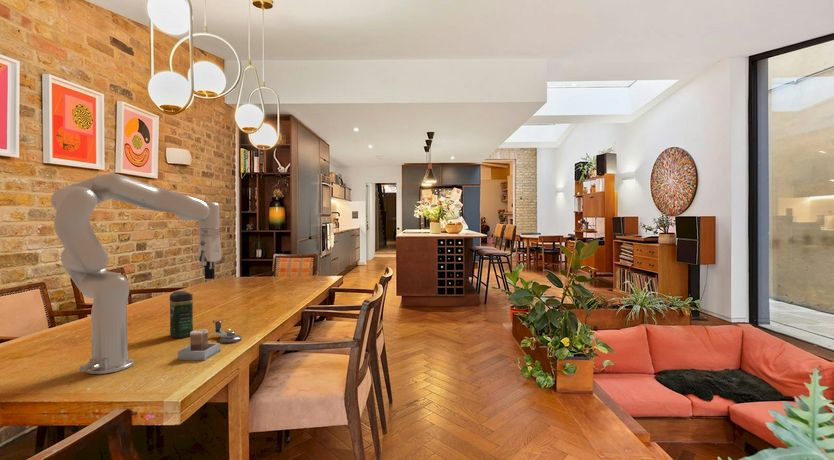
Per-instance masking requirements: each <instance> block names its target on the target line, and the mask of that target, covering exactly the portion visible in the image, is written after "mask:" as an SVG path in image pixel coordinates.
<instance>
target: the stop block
mask: <svg viewBox="0 0 834 460" xmlns="http://www.w3.org/2000/svg"><path fill="white" fill-rule="evenodd" d="M208 334H209V329H206V328H205V329H204V328H203V329H202V328H201V329H200V328H199V329H198V328H197V329H195V330H194V329H193V331H192V332H190V336H189V337H190V338H189V340H190V341H189V342H190V344H189V345H191V351H205V350H207V349H208V343H209V337H208V336H209V335H208Z"/></svg>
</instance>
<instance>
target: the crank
mask: <svg viewBox="0 0 834 460" xmlns="http://www.w3.org/2000/svg"><path fill="white" fill-rule="evenodd" d="M223 321H224V318H217V319H214V320H212V323H215V325H214V327H215V328H214V331H213V334H214V335H216V336H220V337H221V336H223V337H226V338H232V337H235V335H236V332H235V330H231V331H229V332H226V331H225V330H223V329H222V322H223Z"/></svg>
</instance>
